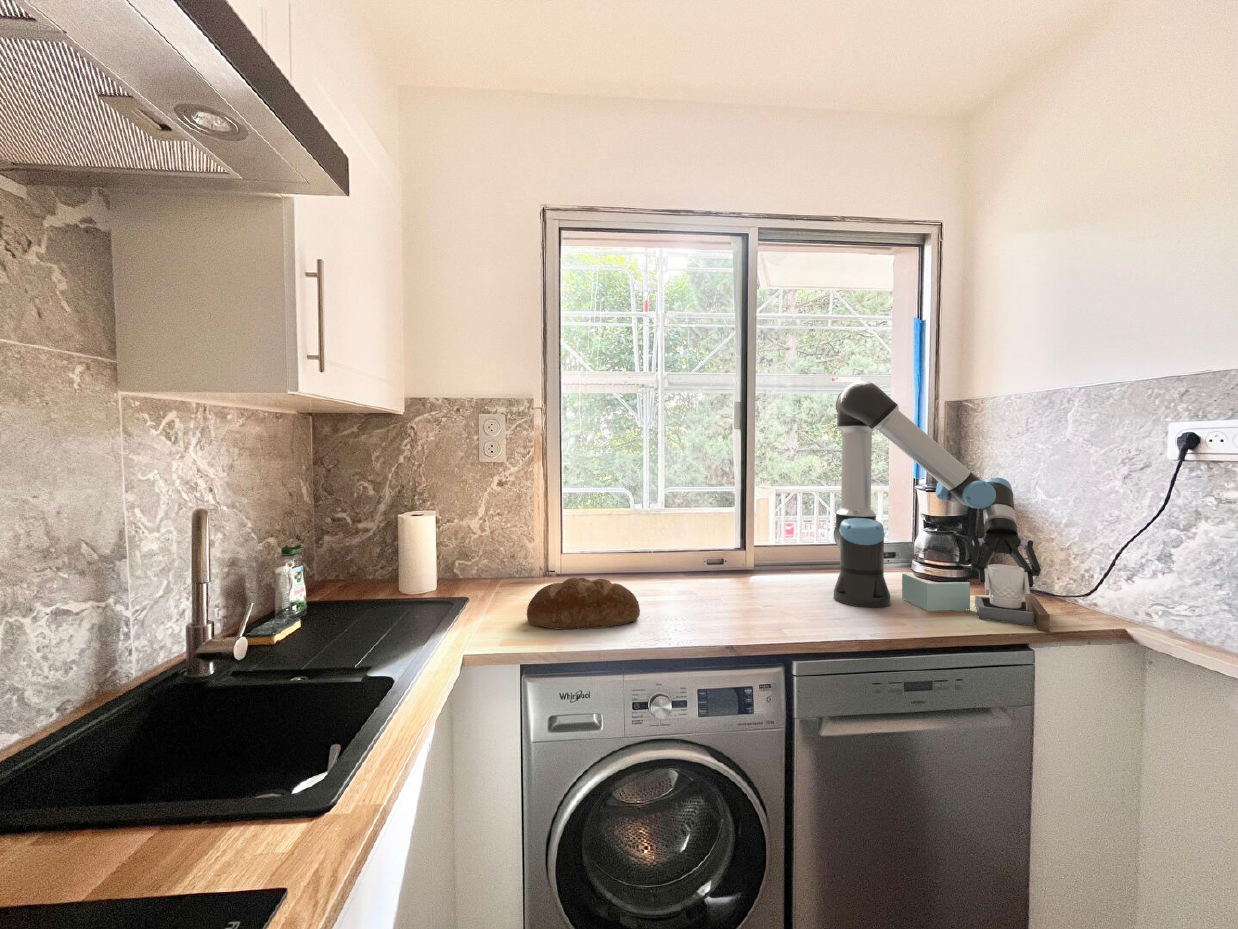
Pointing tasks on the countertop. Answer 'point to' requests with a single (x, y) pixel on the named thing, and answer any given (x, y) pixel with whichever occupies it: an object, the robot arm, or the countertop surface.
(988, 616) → the gray square tray
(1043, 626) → the brown drawer face panel
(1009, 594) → the white cup
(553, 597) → the bread
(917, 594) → the right angle wall
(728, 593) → the countertop surface
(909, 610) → the countertop surface
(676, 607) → the countertop surface
